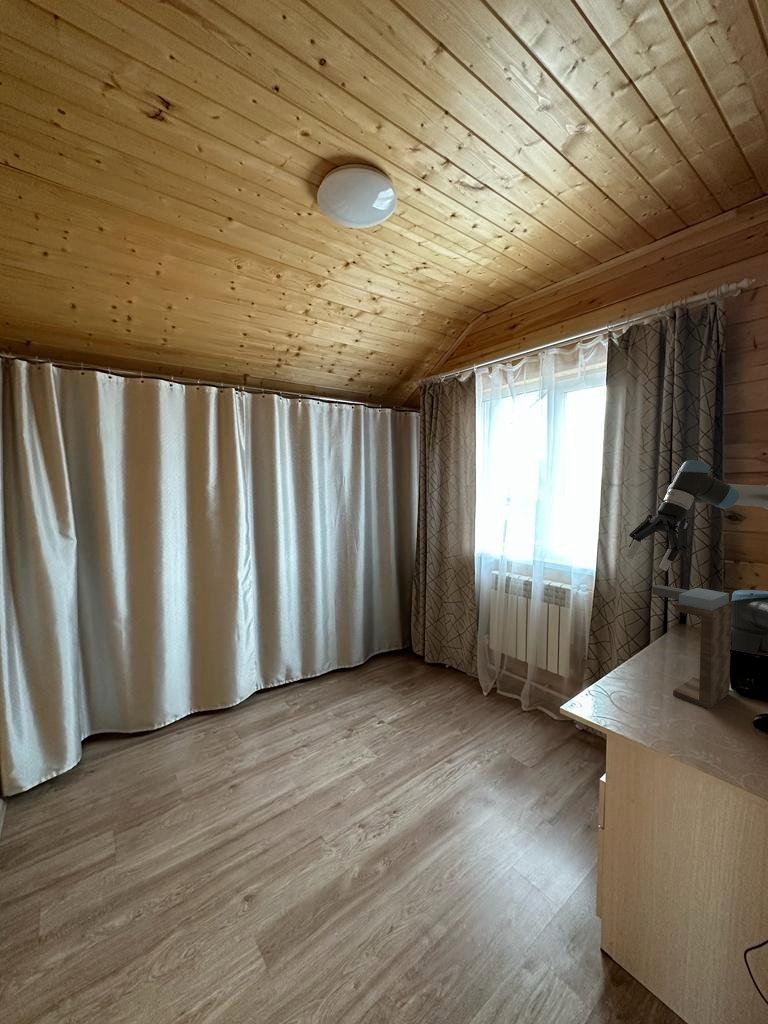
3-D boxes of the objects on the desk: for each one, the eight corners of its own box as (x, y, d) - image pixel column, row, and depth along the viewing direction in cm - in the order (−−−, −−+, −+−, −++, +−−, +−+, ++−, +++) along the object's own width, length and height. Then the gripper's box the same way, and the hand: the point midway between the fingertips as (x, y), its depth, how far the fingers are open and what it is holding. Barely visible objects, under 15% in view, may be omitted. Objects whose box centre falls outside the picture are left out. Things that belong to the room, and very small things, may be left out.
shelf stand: (693, 681, 128) (695, 596, 126) (728, 694, 120) (732, 603, 118) (673, 695, 120) (675, 604, 118) (709, 709, 113) (712, 612, 111)
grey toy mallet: (664, 591, 132) (664, 582, 132) (728, 603, 118) (728, 593, 118) (645, 597, 126) (646, 587, 126) (711, 611, 112) (712, 600, 112)
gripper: (636, 496, 142) (608, 549, 144) (703, 506, 118) (669, 570, 119) (651, 505, 144) (624, 557, 145) (721, 516, 120) (687, 579, 121)
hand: (644, 563), depth 132 cm, fingers open, 13 cm apart
